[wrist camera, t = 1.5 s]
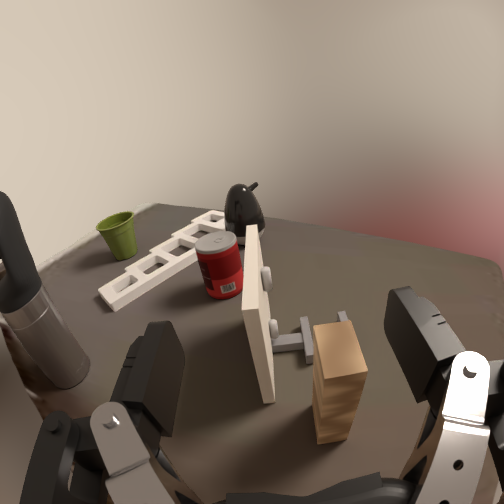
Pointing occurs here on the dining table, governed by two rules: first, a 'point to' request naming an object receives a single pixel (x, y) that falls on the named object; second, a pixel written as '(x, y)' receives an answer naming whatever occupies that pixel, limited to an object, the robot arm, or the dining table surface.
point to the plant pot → (119, 234)
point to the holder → (159, 256)
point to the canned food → (220, 264)
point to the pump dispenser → (242, 211)
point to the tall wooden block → (336, 380)
